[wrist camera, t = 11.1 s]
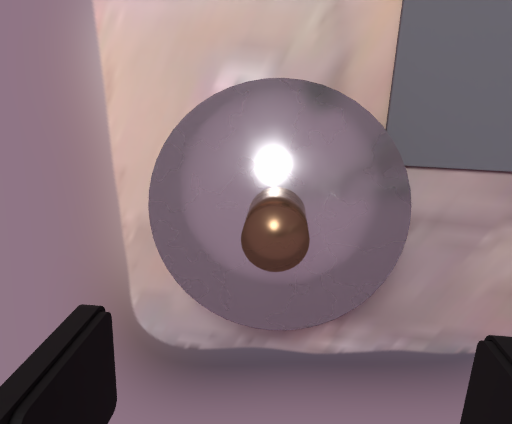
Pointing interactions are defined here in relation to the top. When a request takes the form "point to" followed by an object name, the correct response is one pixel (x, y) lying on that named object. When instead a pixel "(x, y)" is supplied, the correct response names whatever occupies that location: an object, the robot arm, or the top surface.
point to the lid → (279, 204)
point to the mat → (453, 85)
